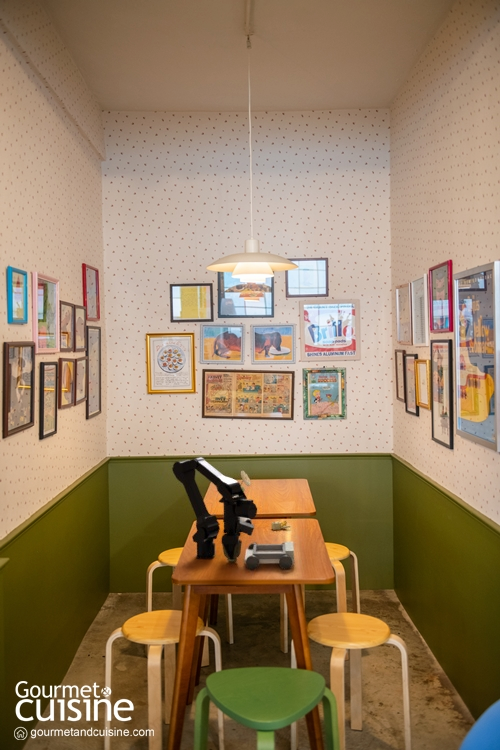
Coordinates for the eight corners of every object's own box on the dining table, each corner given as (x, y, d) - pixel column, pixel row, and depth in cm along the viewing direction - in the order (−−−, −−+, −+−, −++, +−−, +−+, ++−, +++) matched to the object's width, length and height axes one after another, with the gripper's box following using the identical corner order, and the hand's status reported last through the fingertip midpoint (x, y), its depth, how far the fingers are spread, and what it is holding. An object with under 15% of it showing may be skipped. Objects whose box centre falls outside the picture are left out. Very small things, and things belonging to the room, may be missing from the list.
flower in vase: (241, 530, 294) (240, 474, 293) (221, 527, 301) (220, 472, 300) (258, 524, 304) (257, 470, 304) (239, 521, 311) (238, 468, 310)
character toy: (291, 522, 293) (274, 524, 291) (291, 529, 293) (274, 531, 291) (285, 518, 301) (269, 519, 299) (286, 525, 301) (269, 527, 299)
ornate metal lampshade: (242, 558, 252) (241, 537, 252) (242, 564, 245) (241, 543, 245) (222, 559, 252) (221, 538, 252) (222, 565, 245) (221, 543, 245)
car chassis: (244, 570, 239) (244, 553, 239) (246, 555, 257) (246, 539, 257) (294, 569, 239) (294, 553, 238) (293, 554, 257) (292, 539, 256)
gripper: (251, 521, 238) (252, 564, 239) (253, 509, 257) (254, 549, 258) (220, 521, 239) (221, 564, 239) (225, 509, 258) (225, 549, 258)
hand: (232, 556), depth 249 cm, fingers closed on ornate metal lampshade, 6 cm apart
